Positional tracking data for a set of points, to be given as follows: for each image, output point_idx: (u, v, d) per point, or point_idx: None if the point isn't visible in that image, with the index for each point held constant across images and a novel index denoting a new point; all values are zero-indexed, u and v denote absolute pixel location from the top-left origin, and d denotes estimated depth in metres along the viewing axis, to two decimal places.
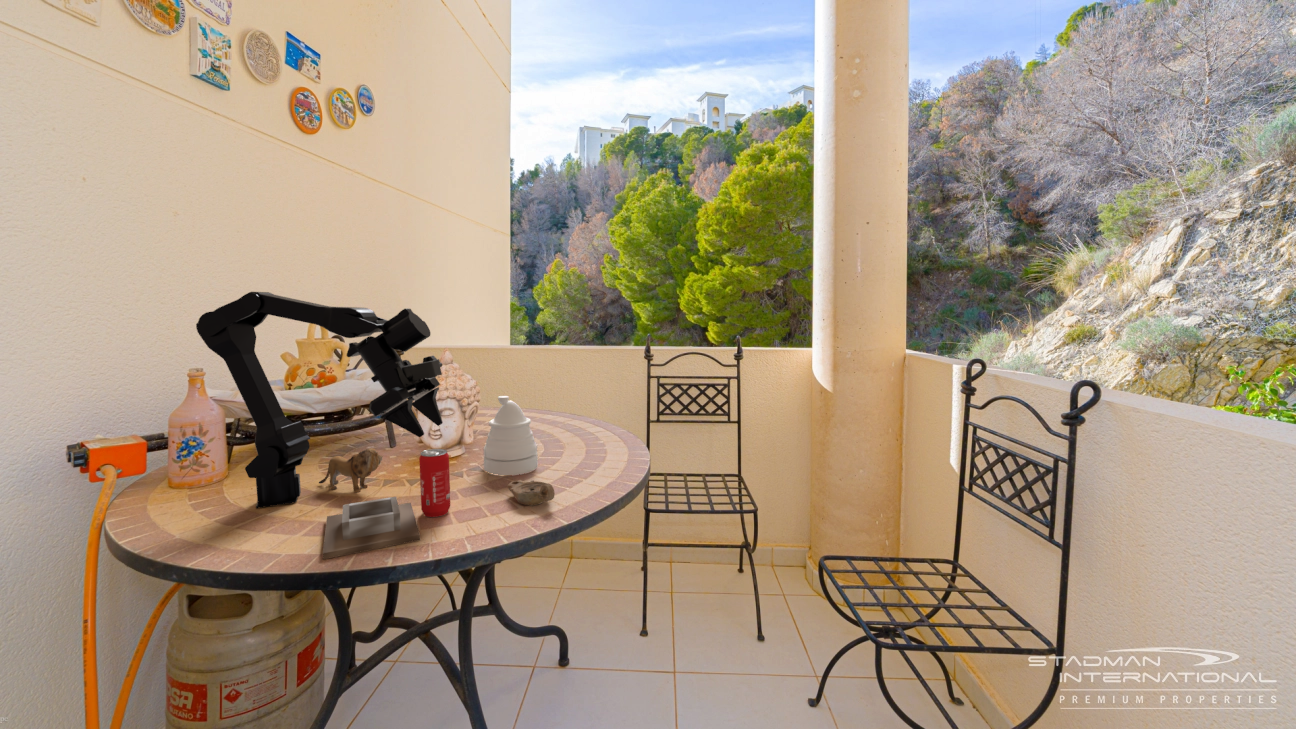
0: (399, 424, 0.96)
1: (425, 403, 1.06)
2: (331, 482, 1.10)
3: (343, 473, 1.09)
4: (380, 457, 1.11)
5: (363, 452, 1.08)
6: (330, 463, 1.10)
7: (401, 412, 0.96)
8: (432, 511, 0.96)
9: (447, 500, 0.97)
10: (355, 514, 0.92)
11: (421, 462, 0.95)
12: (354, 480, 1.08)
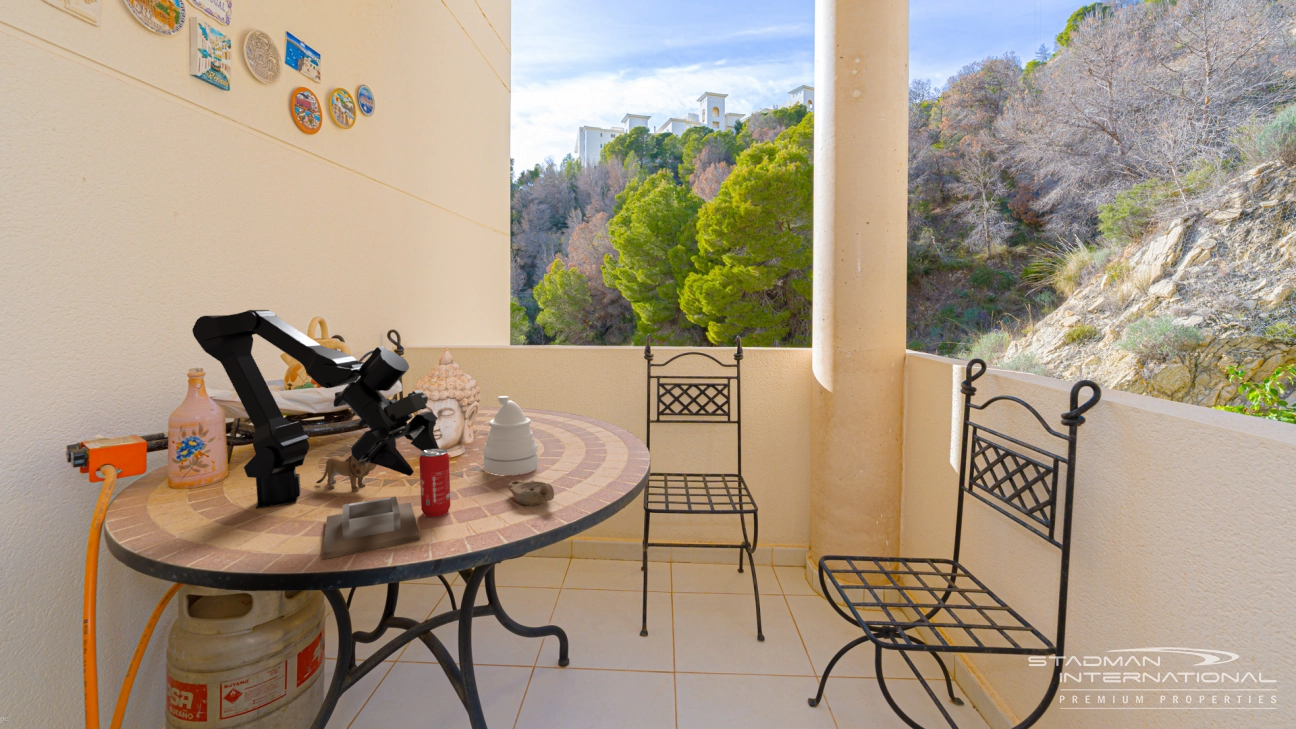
0: (386, 466, 0.92)
1: (423, 440, 1.03)
2: (329, 482, 1.10)
3: (341, 473, 1.09)
4: None
5: None
6: (328, 463, 1.10)
7: (386, 453, 0.92)
8: (432, 511, 0.96)
9: (447, 500, 0.97)
10: (355, 514, 0.92)
11: (421, 462, 0.95)
12: (352, 480, 1.08)
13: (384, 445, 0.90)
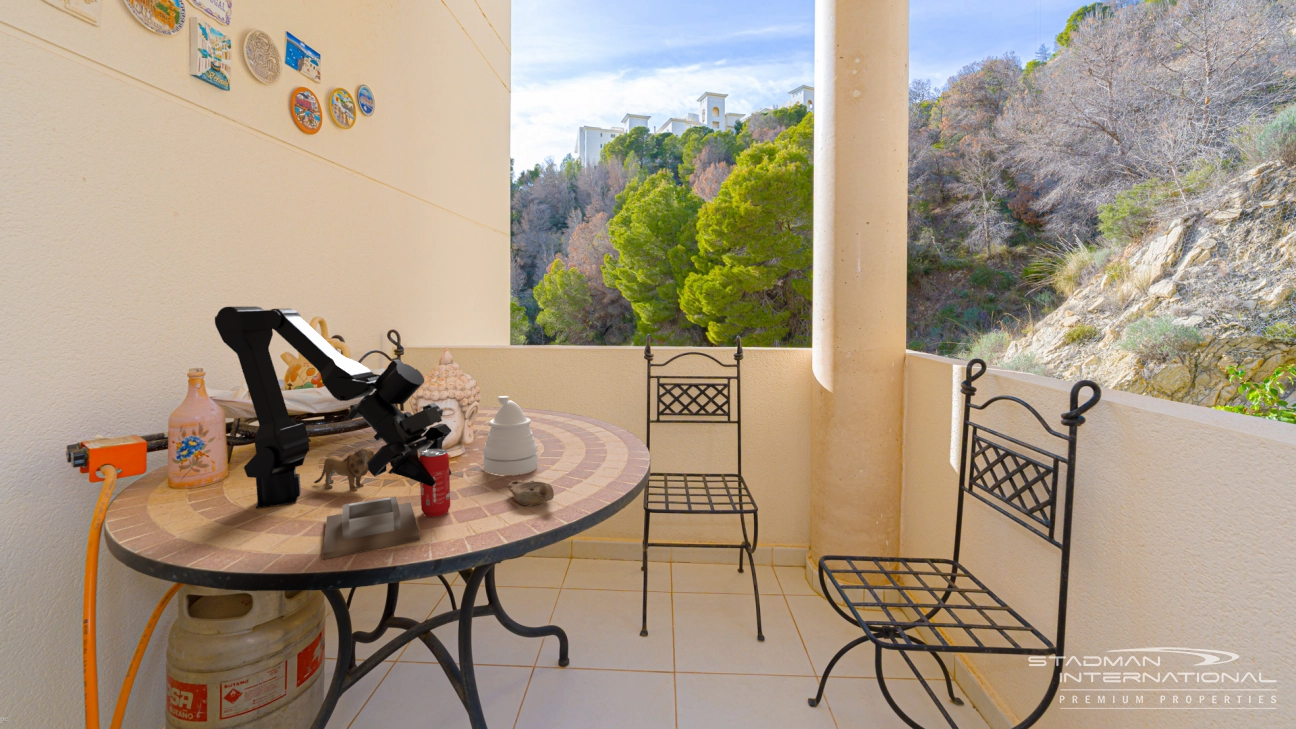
0: (409, 476, 0.94)
1: None
2: (327, 481, 1.11)
3: (339, 472, 1.10)
4: None
5: (359, 451, 1.09)
6: (326, 463, 1.10)
7: (409, 464, 0.94)
8: (432, 511, 0.96)
9: (447, 500, 0.97)
10: (355, 514, 0.92)
11: (421, 462, 0.95)
12: (350, 479, 1.09)
13: (407, 456, 0.92)
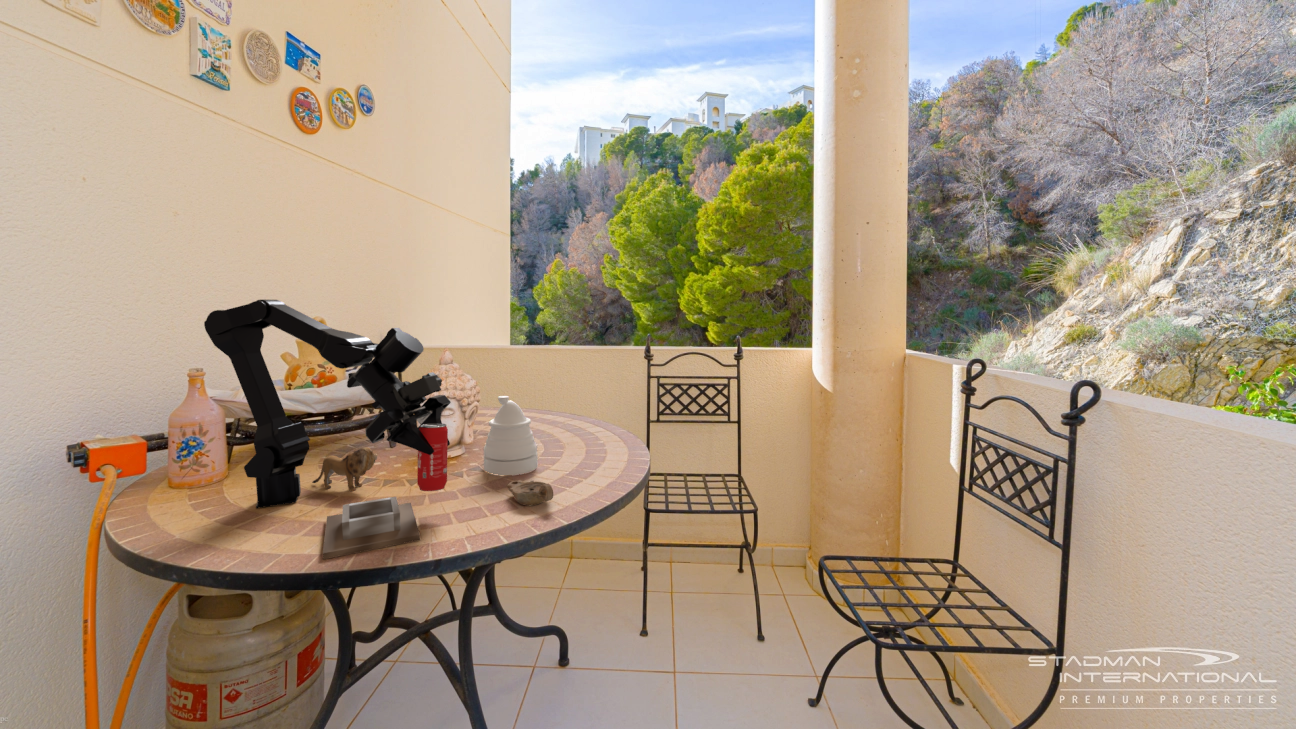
0: (407, 444, 0.93)
1: None
2: (325, 481, 1.11)
3: (338, 472, 1.10)
4: (375, 456, 1.12)
5: (358, 451, 1.09)
6: (324, 462, 1.10)
7: (407, 432, 0.93)
8: (428, 484, 0.94)
9: (444, 475, 0.96)
10: (355, 514, 0.92)
11: None
12: (349, 479, 1.09)
13: (406, 424, 0.91)
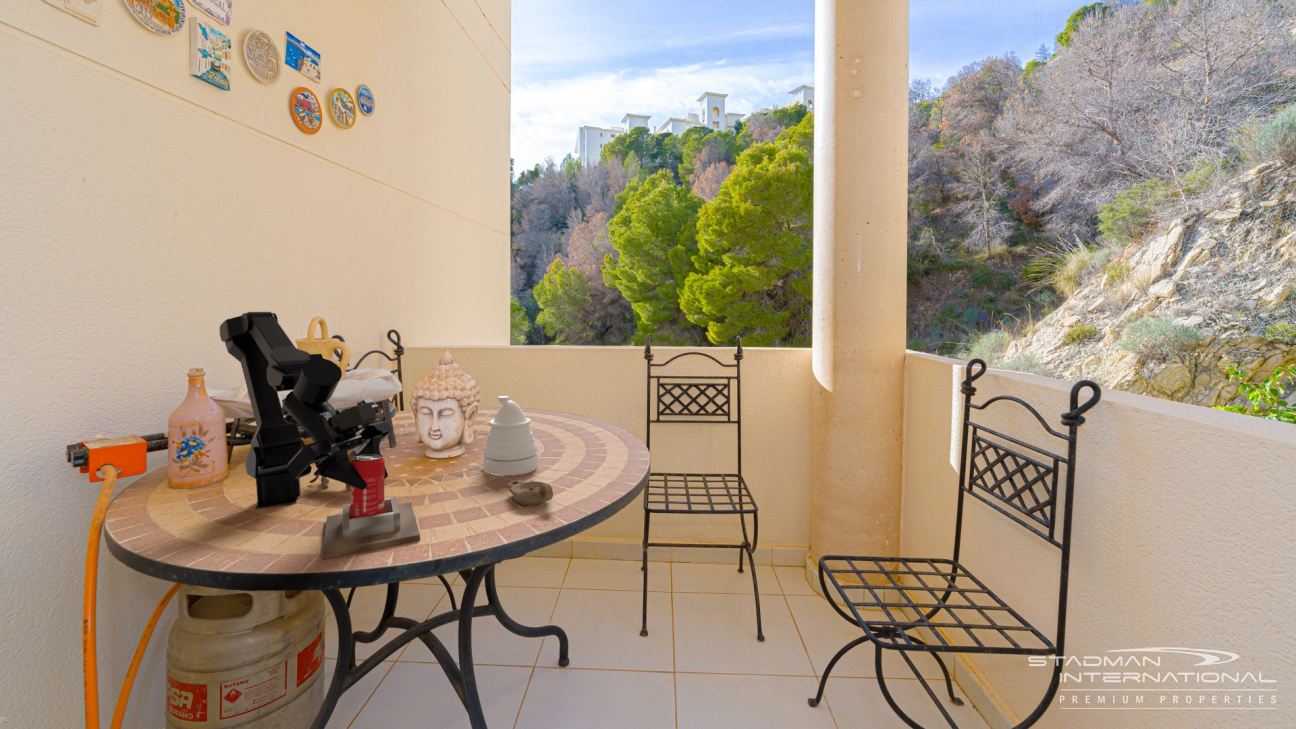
0: (338, 479, 0.86)
1: None
2: (322, 481, 1.11)
3: None
4: None
5: None
6: None
7: (337, 465, 0.86)
8: None
9: (379, 511, 0.89)
10: None
11: None
12: None
13: (334, 457, 0.84)
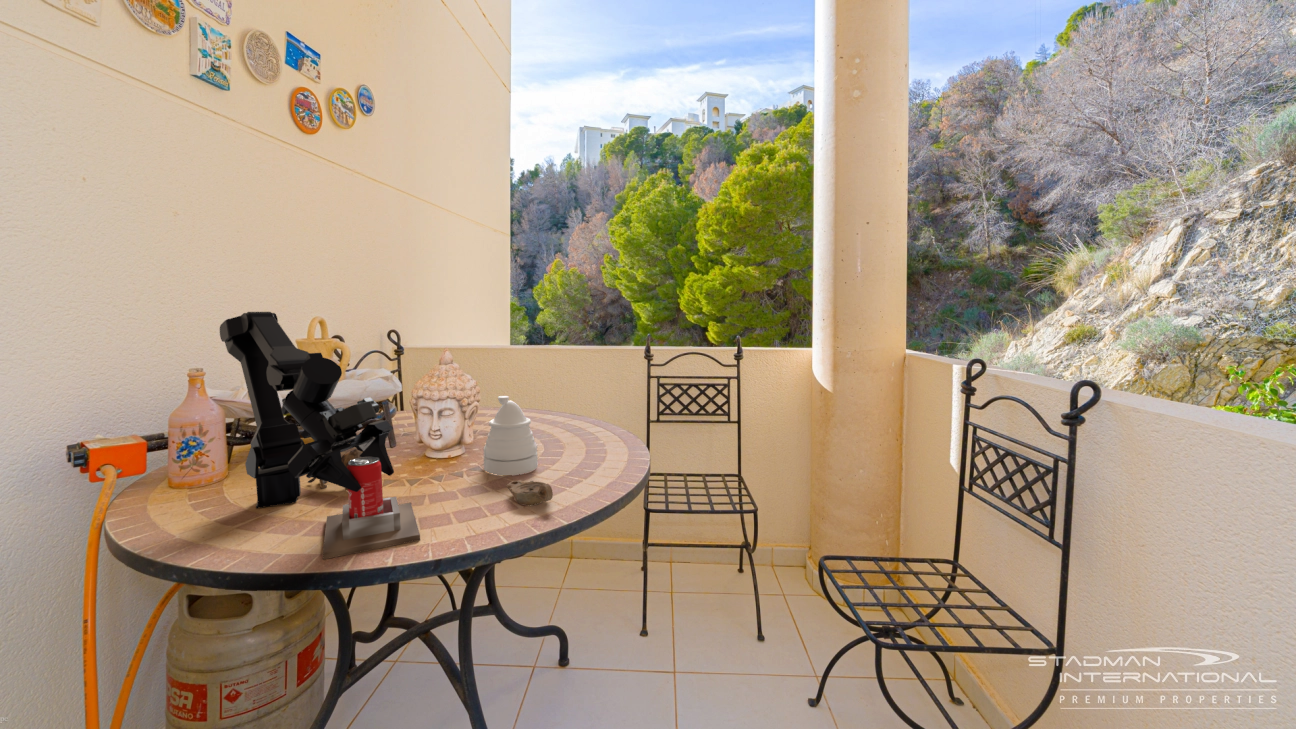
0: (331, 481, 0.84)
1: (373, 453, 0.94)
2: (321, 481, 1.11)
3: None
4: None
5: (354, 450, 1.10)
6: None
7: (330, 467, 0.84)
8: None
9: None
10: None
11: None
12: None
13: (327, 458, 0.82)
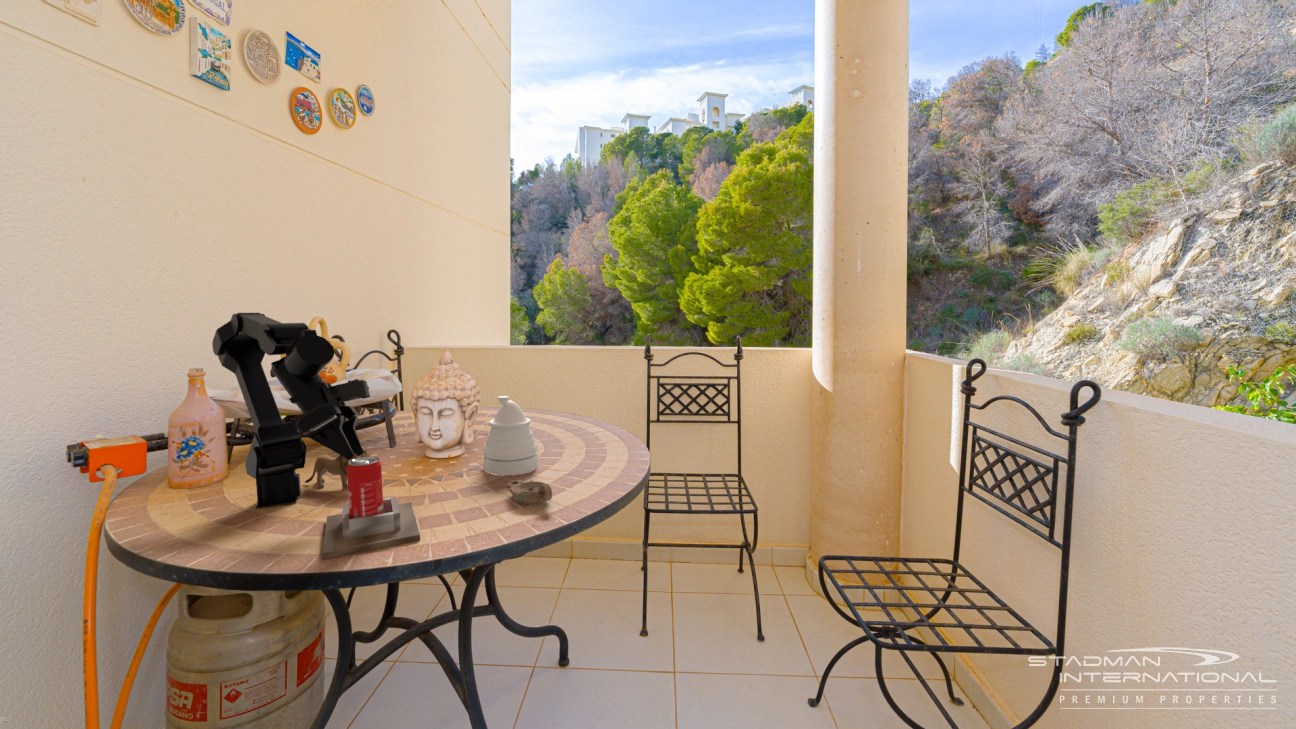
0: (326, 445, 0.88)
1: (344, 432, 0.98)
2: (318, 481, 1.11)
3: (331, 471, 1.10)
4: (368, 455, 1.13)
5: None
6: (317, 462, 1.11)
7: (330, 431, 0.88)
8: None
9: None
10: None
11: (348, 472, 0.86)
12: (343, 478, 1.09)
13: (336, 421, 0.88)
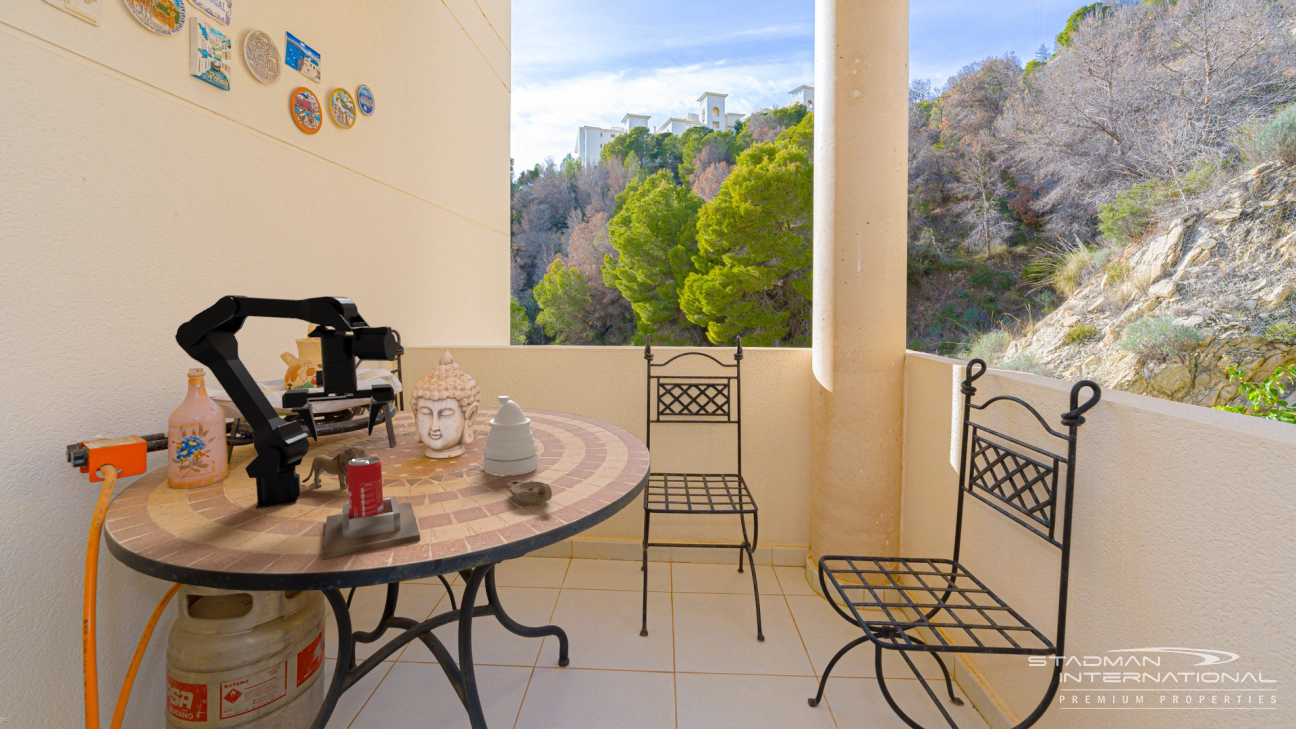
0: (376, 416, 1.04)
1: (312, 414, 0.99)
2: (315, 481, 1.11)
3: (329, 471, 1.10)
4: (366, 454, 1.13)
5: (350, 450, 1.10)
6: (314, 462, 1.11)
7: None
8: None
9: None
10: None
11: (348, 472, 0.86)
12: (341, 477, 1.09)
13: None
